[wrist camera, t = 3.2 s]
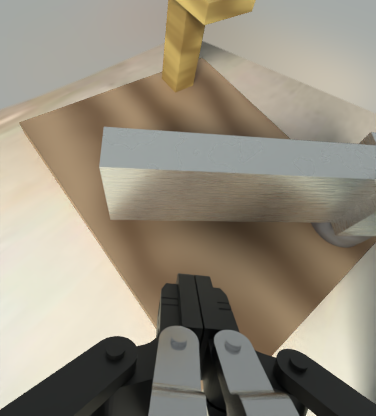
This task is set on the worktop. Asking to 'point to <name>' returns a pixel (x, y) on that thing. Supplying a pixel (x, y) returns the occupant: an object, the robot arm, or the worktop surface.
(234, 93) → the latch board
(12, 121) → the worktop surface
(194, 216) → the link
